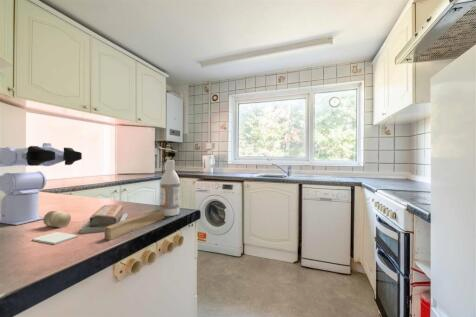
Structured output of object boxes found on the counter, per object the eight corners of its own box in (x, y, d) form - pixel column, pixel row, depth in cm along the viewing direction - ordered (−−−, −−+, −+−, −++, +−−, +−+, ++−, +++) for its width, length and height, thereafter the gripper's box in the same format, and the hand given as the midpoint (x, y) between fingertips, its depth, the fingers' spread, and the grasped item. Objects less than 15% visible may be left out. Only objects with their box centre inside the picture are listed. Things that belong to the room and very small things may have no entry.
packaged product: (97, 204, 79) (128, 203, 82) (96, 218, 79) (128, 216, 82) (79, 217, 62) (119, 215, 65) (78, 235, 62) (119, 231, 65)
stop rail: (104, 238, 58) (104, 227, 58) (159, 217, 79) (159, 209, 79) (110, 239, 57) (110, 228, 57) (164, 218, 78) (164, 209, 78)
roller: (43, 228, 66) (42, 213, 66) (59, 222, 71) (58, 209, 70) (55, 229, 65) (54, 214, 65) (71, 224, 69) (70, 210, 69)
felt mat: (32, 240, 56) (32, 238, 56) (56, 233, 61) (56, 231, 61) (54, 244, 54) (54, 242, 54) (78, 236, 59) (78, 235, 59)
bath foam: (156, 214, 84) (157, 160, 84) (173, 211, 89) (174, 160, 89) (165, 217, 79) (166, 160, 79) (182, 214, 84) (183, 160, 84)
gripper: (6, 141, 64) (39, 140, 60) (60, 145, 78) (90, 143, 74) (7, 166, 64) (39, 166, 60) (60, 165, 78) (90, 165, 74)
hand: (68, 155), depth 67 cm, fingers open, 7 cm apart
